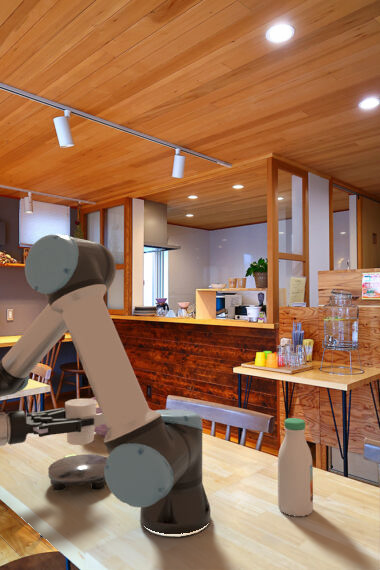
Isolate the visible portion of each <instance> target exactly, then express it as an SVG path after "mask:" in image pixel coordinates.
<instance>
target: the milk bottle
mask: <svg viewBox="0 0 380 570" xmlns="http://www.w3.org/2000/svg"><path fill="white" fill-rule="evenodd" d="M283 422H284V423H283V424H284V430H285V435H284V438H283V441H282V443H281V445H280V447H279V451H278V455H277V506H278V509H279V510H280V512H282V513H283V512H284V513H283V514H285V513H286V514H285V515H287V514H290V515H295V516H294V517H296V516H303V517H306V516H305V515H307V516H309V515H311V514H312V513H313V510H314V477H313V475H314V472H313V470H314V469H313V468H314V467H313V466H314V465H313V457H312V452H311V448H310V446H309V444H308V443H307V440H306V436H305V431H306V421H305V420H304V419H302V418H298V417H297V418H296V417H288V418H286V419H285V420H284V421H283ZM310 513H311V514H310ZM308 514H309V515H308ZM290 515H289V516H290Z"/></svg>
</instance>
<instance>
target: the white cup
mask: <svg viewBox="0 0 380 570" xmlns="http://www.w3.org/2000/svg"><path fill="white" fill-rule="evenodd" d="M64 409H65V414H66V419H69V418H80V416H87V415H93V414H96V400H93V399H91V398H74V399H69V400H67V401H65V402H64ZM94 430H95V426H91V427H85V428H81V432H71V433H66V443H67V444H69V445H72V446H73V445H74V446H75V445H76V446H81V445H88V444H90V443H92V442H93V441H95V439H94V438H95V432H94Z"/></svg>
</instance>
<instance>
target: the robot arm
mask: <svg viewBox="0 0 380 570" xmlns="http://www.w3.org/2000/svg"><path fill="white" fill-rule="evenodd" d="M116 267H117V266H116V261H115V258H114V256H113V254H112V253H111V251H110V249H108V248H107V247H106V246H105V245H103V244H101V243H99V242H96V241H93V240H87V239H86V240H85V239H81V238H77V237H72V236H70V235H67V234H56V233H55V234H53V233H52V234H48V235H44V236H42V237H40V238H39V239H37V241H35V242H34V244H33V245H32V246H31V247H30V248H29V250H28V256H27V257H26V259H25V262H24V275H25V279H26V282H27V283H28V285H29V287H31V288H32V290H34V291H36V292H38V293H40V294H41V295H42V294H44V295H45V297H46V300H47V302H48V304H47V305H46V306H45V308H43V310H42V311H41V312H40V313H39V315H38V316H37V317H35V319H34V320H33V322H32V323H31V324H30V325H29V327H28V328H27V329H26V330H25V331H24V333H22V335H21V336H20V337H19V338H18V339H17V340H16V342H15V343H14V345H13V346H12V347H11V348H10V349H9V351H7V352H6V354H4V356H3V357H2V359H1V360H0V398H2V397H5V396H9V395H14V394H15V395H16V393H18V392H20V391H23V390H24V389H26V387H27V386H28V384H29V380H30V374H31V373H32V371H33V370H34V369H35V368H36V367H37V365H38V364H39V363H40V362H41V361H42V360H43V359H44V358H45V356H46V355H47V354H49V352H50V351H51V350H52V348H53V347H54V346H55V345H56V344H57V343H58V341H59V340H61V338H62V337H63V336H64V335H65V334H66V333H67V332H68V333H69V335H70V337H71V340H72V343H73V345H74V348H75V350H76V353H77V355H78V358H79V360H80V363H81V365H82V368H83V370H84V372H85V375H86V377H87V379H88V383H89V385H90V388H91V390H92V393H93V395H94V397H95V398H96V400H97V403H98V405H99V408H100V410H101V413H100V414H93V415H87V416H80V418H69V419H66V414H65V407H60V408H54V409H48V410H42V411H37V412H28V413H26V412H25V410H23V409H22V410H21V409H20V410H12V411H11V410H10V411H8V412H7V413H6V412H0V447H3V446H6V445H7V444H8V445H10V446H11V445H15V444H21V443H25V442H26V440H27V436H28V435H30V434H33V435H38V437H39V438H42V437H47V436H53V435H61V434H67V433H71V432H81V428H85V427H91V426H97V425H103V424H105V422H106V425H107V429H108V430H107V433H106V436H105V437H103V438H104V439H103V443H104V445H105V448H106V450H107V452H108V456H107V460H106V466H105V468H104V475H105V480H106V482H105V483H106V485H107V488H108V489H109V491H110V493H112V495H113V496H114V497H115V498H116V499H117V500H118V501H120V502H121V503H125V504H127V505H128V506H130V507H131V508H133V507H134V508H140V513H139V514H140V519H139V521H140V522H139V523H140V525H141V527H143V526H145V527H146V528H148V529H150V530H152V531H155V532H159V533H164V534H181V533H182V534H183V533H190V532H193V531H196V530H199V529H201V528H203V527H204V526H206V525H207V524H208V523H209V521H210V522H211V506H210V503H209V499H208V495H207V493H206V489H205V488H204V484H203V431H204V428H203V419H202V416H201V415H200V414H199V413H197V412H194V411H189V410H182V409H157V410H152V409H151V408H150V407H149V404H148V401H147V400H146V398H145V396H144V392H143V390H142V387H141V385H140V383H139V381H138V378H137V377H136V374H135V372H134V371H135V370H134V369H133V367H132V365H131V362H130V359H129V357H128V354H127V352H126V350H125V348H124V345H123V343H122V340H121V338H120V336H119V333H118V331H117V329H116V325H115V324H114V320H112V317H111V314H110V312H109V310H108V307H107V305H106V302H105V300H104V296H105V295H106V293H107V292H108V291H109V289H110V288H111V287H112V284H113V282H114V281H115V277H116V271H117V269H116ZM209 524H210V523H209Z"/></svg>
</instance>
